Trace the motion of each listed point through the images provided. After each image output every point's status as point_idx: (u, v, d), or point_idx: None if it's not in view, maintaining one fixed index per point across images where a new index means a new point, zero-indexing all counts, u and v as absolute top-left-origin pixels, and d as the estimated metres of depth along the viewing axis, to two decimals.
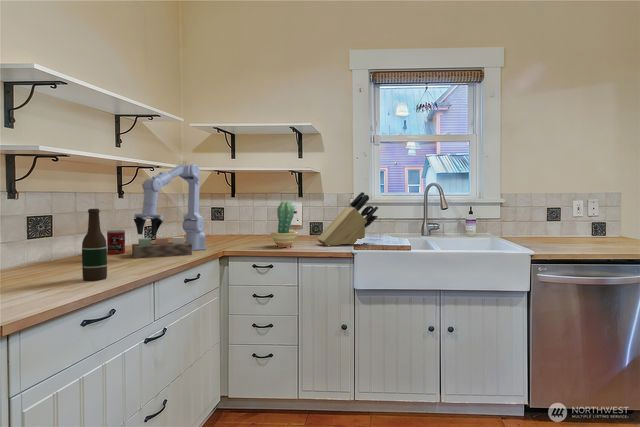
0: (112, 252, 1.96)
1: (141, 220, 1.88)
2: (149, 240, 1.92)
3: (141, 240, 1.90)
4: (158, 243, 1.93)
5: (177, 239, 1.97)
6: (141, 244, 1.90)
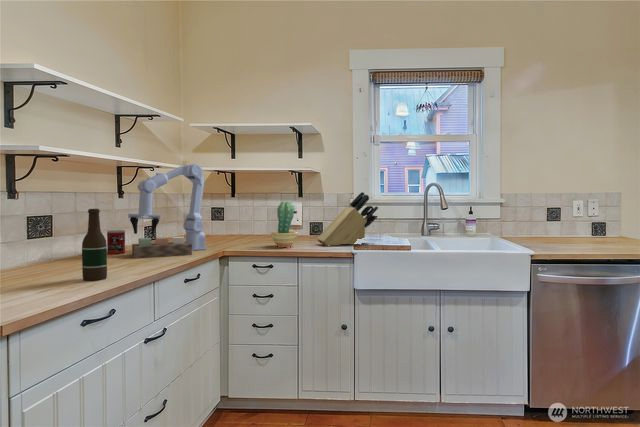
0: (112, 252, 1.96)
1: (136, 220, 1.95)
2: (149, 240, 1.92)
3: (141, 240, 1.90)
4: (158, 243, 1.93)
5: (177, 239, 1.97)
6: (141, 244, 1.90)
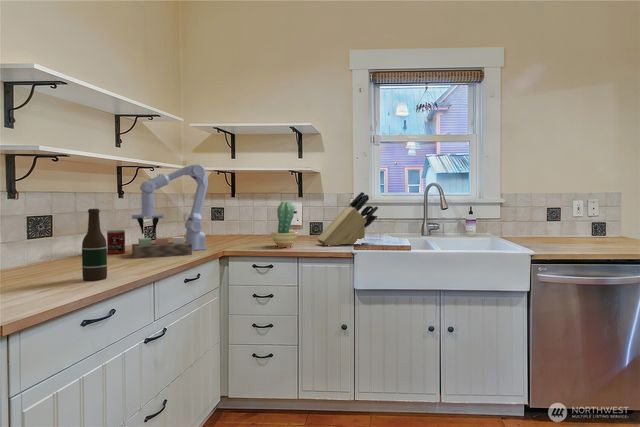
0: (112, 252, 1.96)
1: (142, 220, 2.01)
2: (149, 240, 1.92)
3: (141, 240, 1.90)
4: (158, 243, 1.93)
5: (177, 239, 1.97)
6: (141, 244, 1.90)
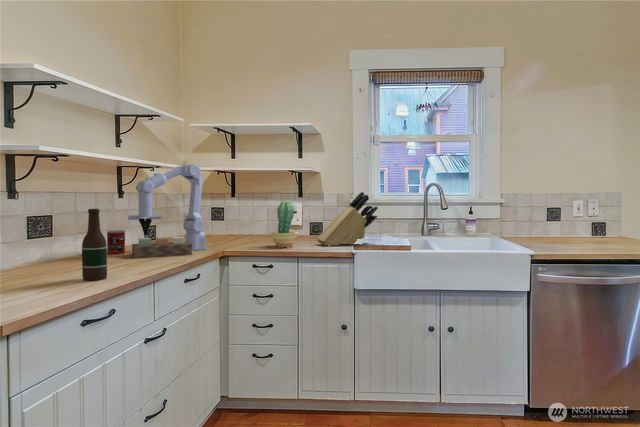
0: (112, 252, 1.96)
1: (144, 221, 1.95)
2: (149, 240, 1.92)
3: (141, 240, 1.90)
4: (158, 243, 1.93)
5: (177, 239, 1.97)
6: (141, 244, 1.90)
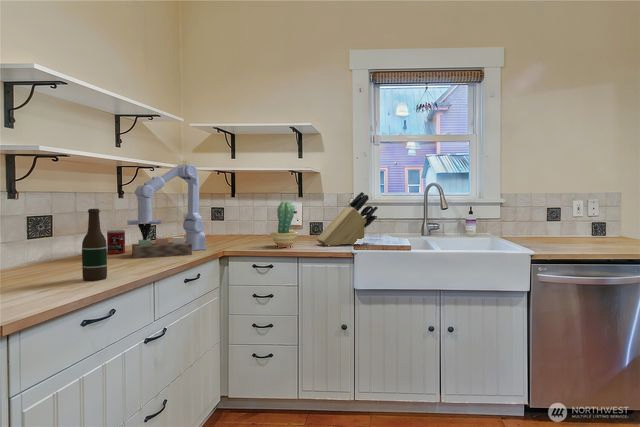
0: (112, 252, 1.96)
1: None
2: (149, 241, 1.92)
3: (141, 241, 1.90)
4: (158, 243, 1.93)
5: (177, 239, 1.97)
6: (141, 245, 1.90)
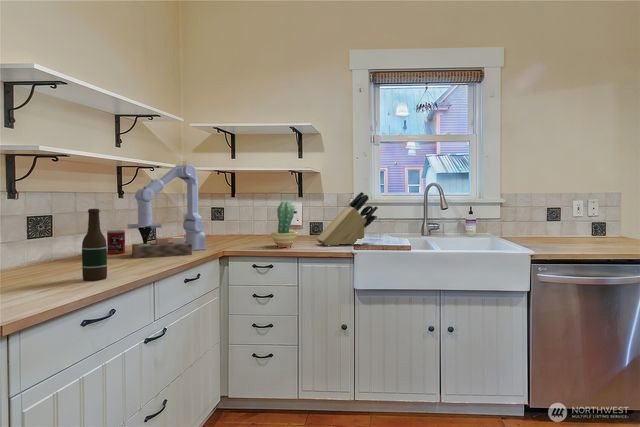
0: (112, 252, 1.96)
1: None
2: None
3: None
4: (158, 243, 1.93)
5: (177, 239, 1.97)
6: None
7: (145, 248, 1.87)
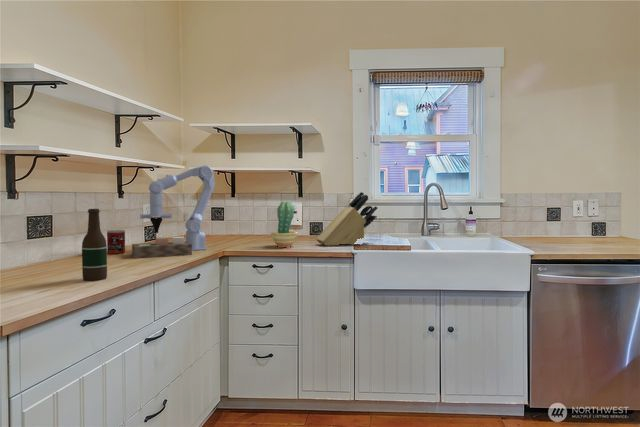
0: (112, 252, 1.96)
1: (155, 220, 2.06)
2: None
3: None
4: (158, 243, 1.93)
5: (177, 239, 1.97)
6: None
7: (145, 248, 1.87)
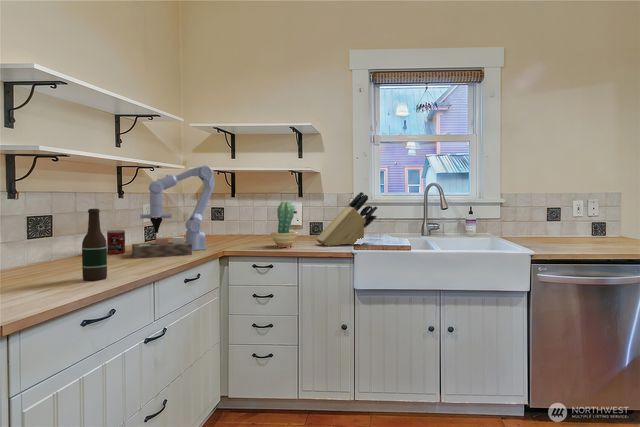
0: (112, 252, 1.96)
1: (155, 220, 2.06)
2: None
3: None
4: (158, 243, 1.93)
5: (177, 239, 1.97)
6: None
7: (145, 248, 1.87)
